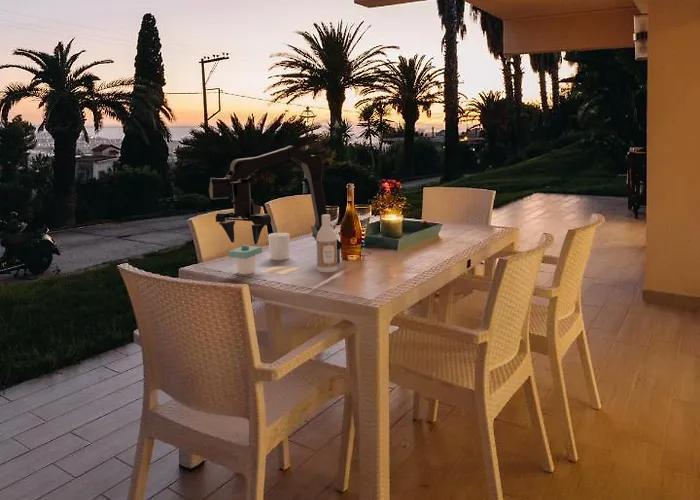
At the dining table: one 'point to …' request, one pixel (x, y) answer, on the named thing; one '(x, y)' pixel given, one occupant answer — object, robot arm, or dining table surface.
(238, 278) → the dining table surface
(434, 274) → the dining table surface
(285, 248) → the white cup
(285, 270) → the mat
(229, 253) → the lid
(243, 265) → the cream round container
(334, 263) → the bath foam
